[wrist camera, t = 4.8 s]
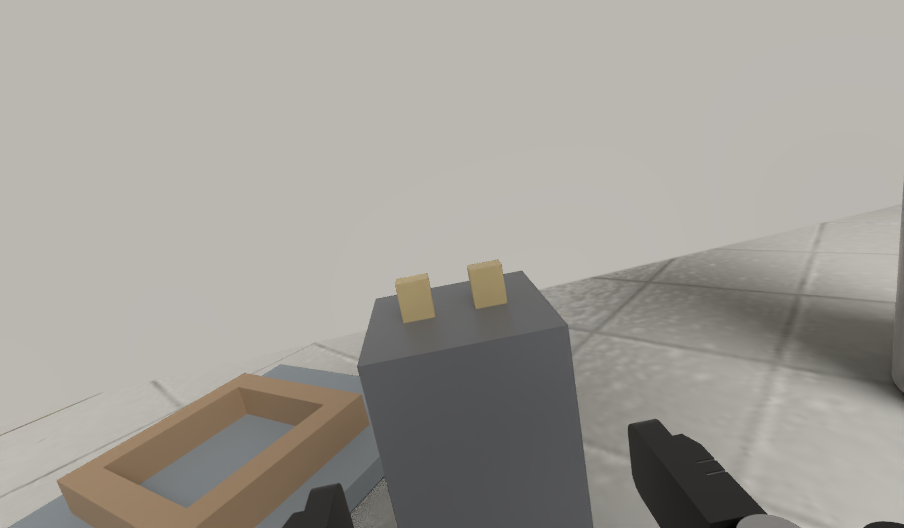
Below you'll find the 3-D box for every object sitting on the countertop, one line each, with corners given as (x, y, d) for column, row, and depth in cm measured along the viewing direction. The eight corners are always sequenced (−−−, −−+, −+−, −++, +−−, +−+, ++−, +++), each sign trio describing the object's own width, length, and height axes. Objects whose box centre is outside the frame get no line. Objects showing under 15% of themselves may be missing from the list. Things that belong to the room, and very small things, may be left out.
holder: (284, 377, 38) (273, 341, 38) (449, 406, 30) (439, 360, 29) (-51, 589, 22) (-82, 534, 21) (97, 784, 14) (55, 706, 13)
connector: (568, 585, 17) (517, 237, 14) (619, 733, 13) (562, 279, 9) (448, 611, 17) (368, 266, 14) (459, 768, 13) (345, 321, 9)
